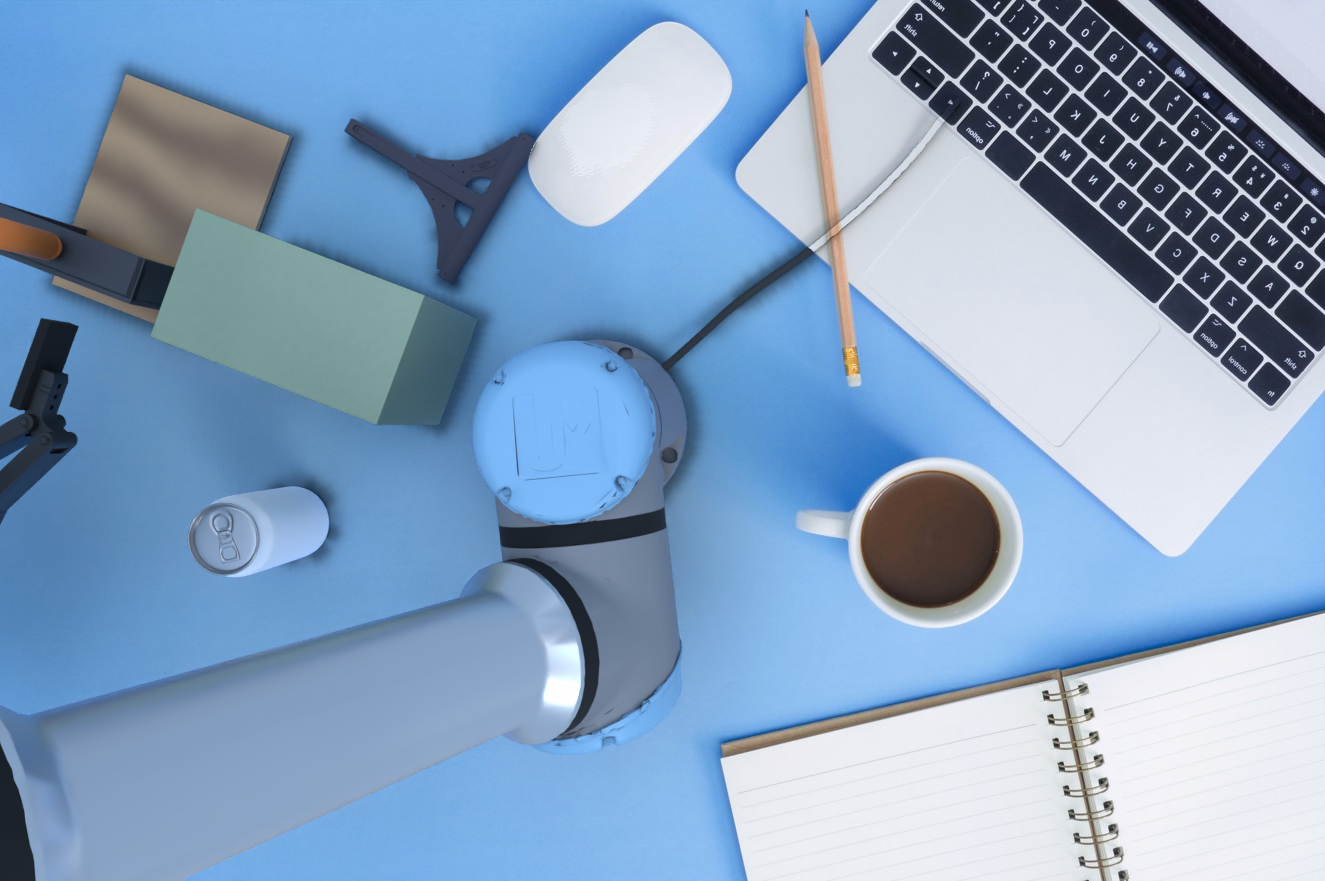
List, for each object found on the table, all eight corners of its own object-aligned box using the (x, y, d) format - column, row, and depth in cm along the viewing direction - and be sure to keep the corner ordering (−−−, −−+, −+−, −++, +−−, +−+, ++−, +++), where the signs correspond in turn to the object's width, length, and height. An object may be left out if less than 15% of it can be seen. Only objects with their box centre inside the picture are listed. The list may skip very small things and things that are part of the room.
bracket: (395, 60, 78) (384, 47, 75) (538, 144, 77) (531, 134, 75) (315, 201, 79) (300, 193, 76) (456, 286, 78) (446, 281, 75)
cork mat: (130, 76, 79) (125, 73, 79) (292, 137, 79) (289, 135, 78) (56, 284, 80) (51, 283, 79) (216, 347, 79) (212, 346, 79)
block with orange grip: (81, 227, 79) (-119, 165, 60) (223, 282, 78) (68, 236, 59) (67, 266, 79) (-136, 216, 60) (209, 320, 79) (49, 287, 59)
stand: (293, 248, 79) (196, 207, 64) (478, 319, 78) (424, 295, 63) (254, 353, 79) (149, 336, 64) (439, 424, 78) (376, 425, 63)
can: (321, 478, 79) (252, 488, 67) (339, 548, 79) (273, 570, 67) (253, 495, 79) (172, 508, 67) (270, 564, 79) (193, 590, 67)
